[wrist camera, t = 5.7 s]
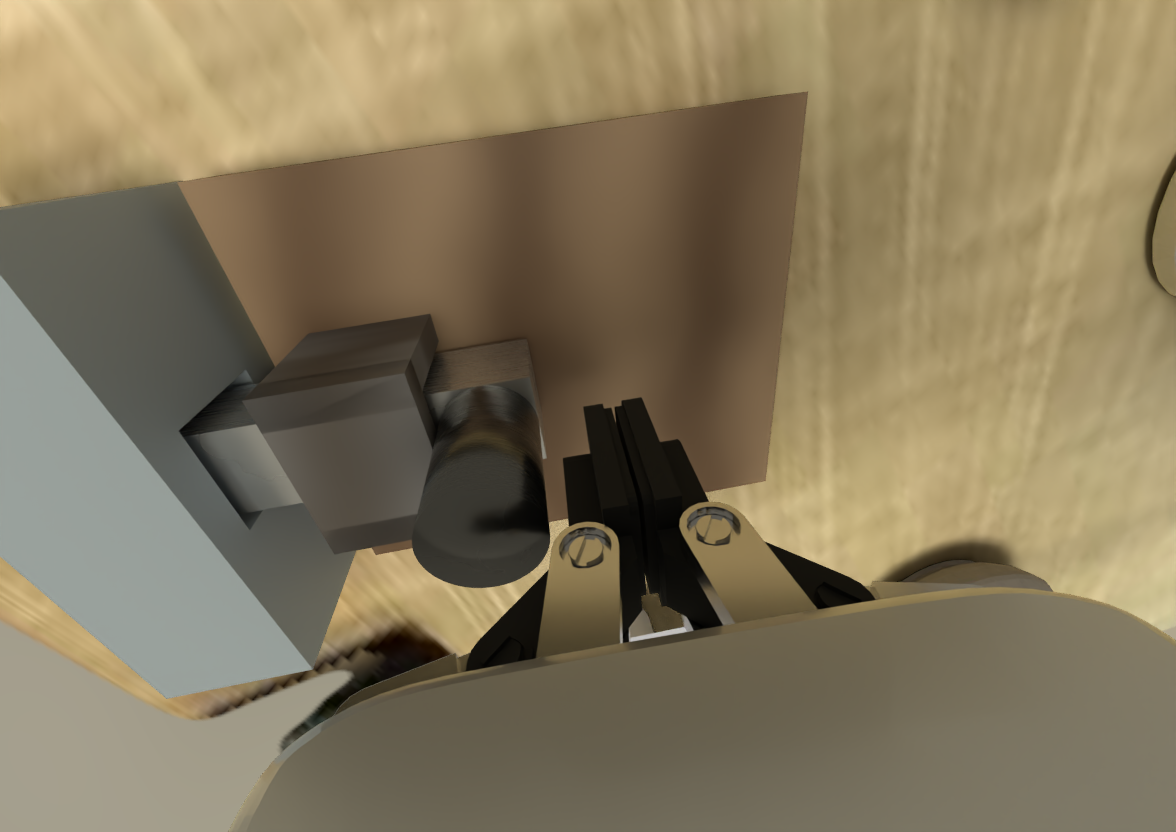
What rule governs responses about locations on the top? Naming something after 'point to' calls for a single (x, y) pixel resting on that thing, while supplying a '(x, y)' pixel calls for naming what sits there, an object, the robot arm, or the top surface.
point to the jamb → (143, 447)
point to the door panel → (515, 294)
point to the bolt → (456, 471)
